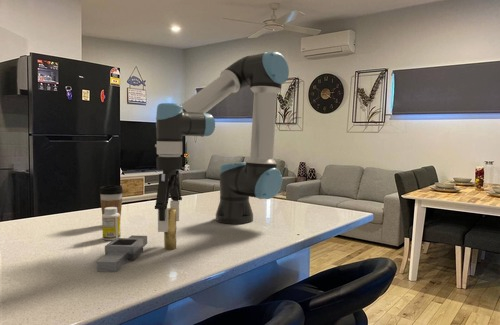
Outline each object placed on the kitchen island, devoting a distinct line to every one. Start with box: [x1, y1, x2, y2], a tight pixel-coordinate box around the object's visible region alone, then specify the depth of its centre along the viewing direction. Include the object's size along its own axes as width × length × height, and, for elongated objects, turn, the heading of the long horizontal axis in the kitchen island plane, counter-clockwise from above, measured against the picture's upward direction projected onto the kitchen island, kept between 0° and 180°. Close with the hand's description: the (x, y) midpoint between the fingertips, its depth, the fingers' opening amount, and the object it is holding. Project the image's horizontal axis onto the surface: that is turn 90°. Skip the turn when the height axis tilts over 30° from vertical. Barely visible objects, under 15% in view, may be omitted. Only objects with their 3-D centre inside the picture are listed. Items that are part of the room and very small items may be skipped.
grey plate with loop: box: [96, 235, 148, 273], centre depth 108 cm, size 24×8×4 cm, turn 177°
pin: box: [163, 207, 177, 251], centre depth 116 cm, size 4×4×12 cm
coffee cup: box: [98, 184, 124, 221], centre depth 143 cm, size 8×8×15 cm
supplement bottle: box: [101, 207, 121, 241], centre depth 126 cm, size 6×6×10 cm
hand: (169, 226), depth 115 cm, fingers open, 13 cm apart
